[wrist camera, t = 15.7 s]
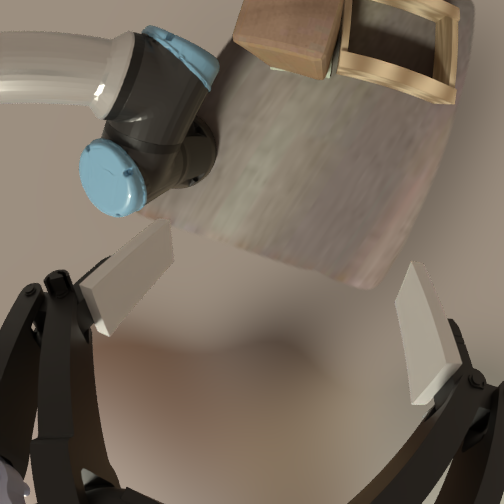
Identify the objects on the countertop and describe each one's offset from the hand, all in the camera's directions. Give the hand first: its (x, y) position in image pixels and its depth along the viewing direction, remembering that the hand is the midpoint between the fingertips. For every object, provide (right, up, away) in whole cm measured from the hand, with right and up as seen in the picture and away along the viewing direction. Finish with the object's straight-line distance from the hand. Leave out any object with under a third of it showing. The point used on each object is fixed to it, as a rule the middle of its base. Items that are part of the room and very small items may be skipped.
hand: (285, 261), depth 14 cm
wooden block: (+7, +34, +21) cm, 41 cm away
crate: (+22, +35, +16) cm, 45 cm away
